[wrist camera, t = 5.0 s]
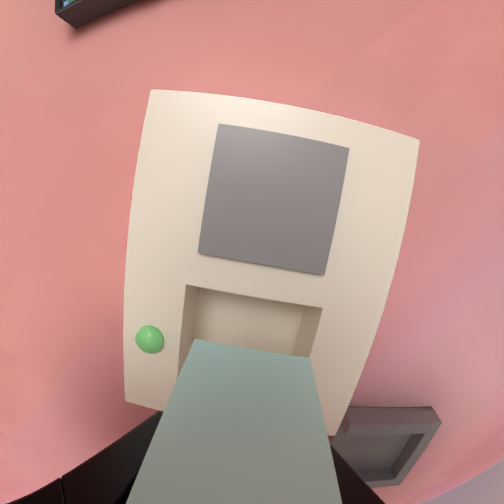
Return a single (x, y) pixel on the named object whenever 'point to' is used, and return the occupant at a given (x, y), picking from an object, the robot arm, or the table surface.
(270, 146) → the port block
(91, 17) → the disk drive
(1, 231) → the table surface
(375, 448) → the holster
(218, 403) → the plug
